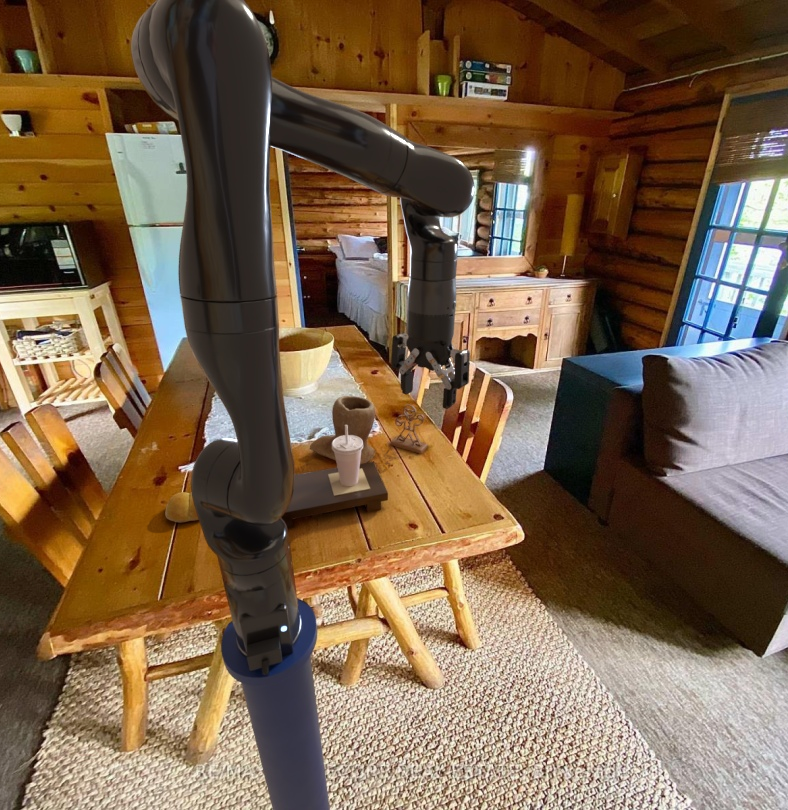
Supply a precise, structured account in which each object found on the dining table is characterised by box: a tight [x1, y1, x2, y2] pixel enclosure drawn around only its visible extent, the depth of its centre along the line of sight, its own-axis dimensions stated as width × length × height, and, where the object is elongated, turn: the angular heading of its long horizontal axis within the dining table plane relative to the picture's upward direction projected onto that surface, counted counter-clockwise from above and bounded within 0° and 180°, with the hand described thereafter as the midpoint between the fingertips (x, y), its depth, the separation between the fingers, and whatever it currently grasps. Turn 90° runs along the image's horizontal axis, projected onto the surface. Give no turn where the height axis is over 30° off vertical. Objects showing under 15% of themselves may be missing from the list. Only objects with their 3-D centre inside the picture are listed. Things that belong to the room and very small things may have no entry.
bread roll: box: [164, 491, 199, 523], centre depth 90 cm, size 8×9×4 cm
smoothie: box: [332, 425, 363, 486], centre depth 91 cm, size 6×6×14 cm
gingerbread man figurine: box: [390, 403, 428, 455], centre depth 112 cm, size 9×4×12 cm, turn 62°
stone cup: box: [308, 395, 376, 464], centre depth 108 cm, size 15×12×15 cm
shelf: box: [281, 461, 389, 529], centre depth 93 cm, size 12×24×4 cm, turn 109°
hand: (427, 399), depth 76 cm, fingers open, 8 cm apart
